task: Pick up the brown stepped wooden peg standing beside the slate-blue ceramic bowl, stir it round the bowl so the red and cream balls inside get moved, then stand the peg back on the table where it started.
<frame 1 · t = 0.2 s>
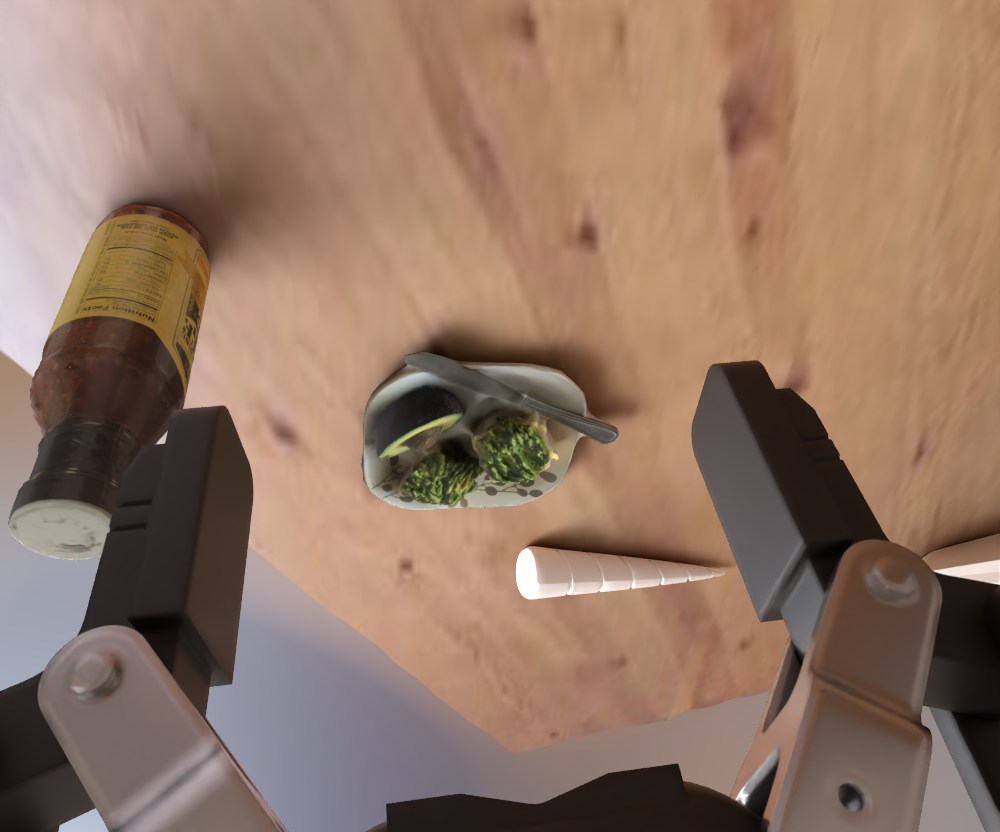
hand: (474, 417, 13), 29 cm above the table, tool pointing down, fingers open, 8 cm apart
white faceted piece: (960, 558, 85), on the table
salad plate: (465, 424, 57), on the table
unicorn horn: (620, 555, 75), on the table
sauce bottle: (157, 241, 42), on the table
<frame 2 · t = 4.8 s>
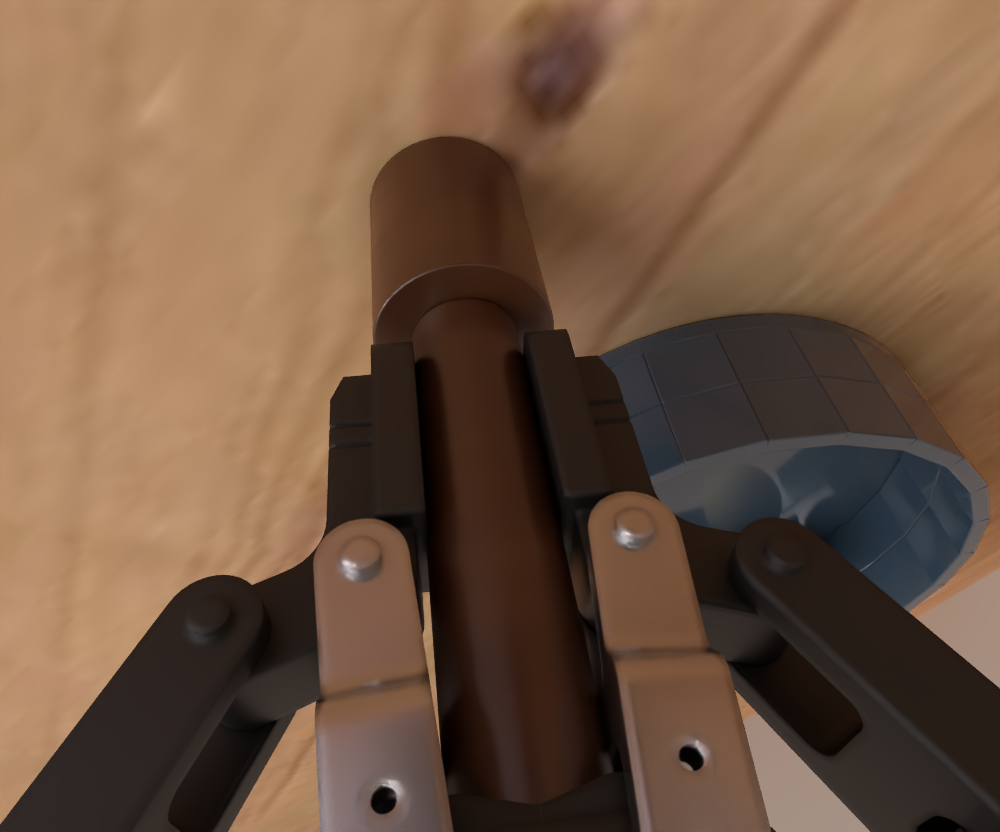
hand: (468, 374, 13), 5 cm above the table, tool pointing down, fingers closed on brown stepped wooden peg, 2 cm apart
brown stepped wooden peg: (445, 207, 17), on the table, touching gripper
bowl: (689, 481, 26), on the table
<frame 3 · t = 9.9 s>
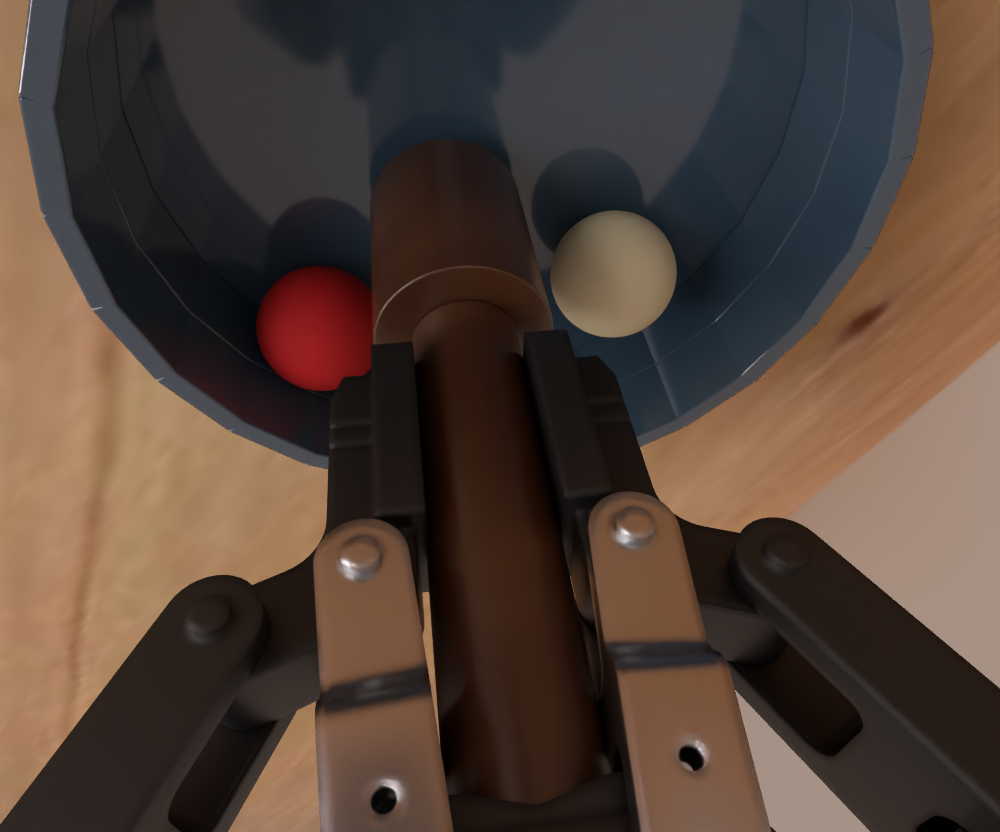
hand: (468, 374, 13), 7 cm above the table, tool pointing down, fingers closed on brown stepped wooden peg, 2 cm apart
cream ball: (612, 274, 18), point 2 cm above the table, touching bowl
brown stepped wooden peg: (445, 208, 17), point 1 cm above the table, touching gripper
bowl: (474, 119, 17), on the table
red ball: (321, 328, 18), point 2 cm above the table, tilted 52°, touching bowl
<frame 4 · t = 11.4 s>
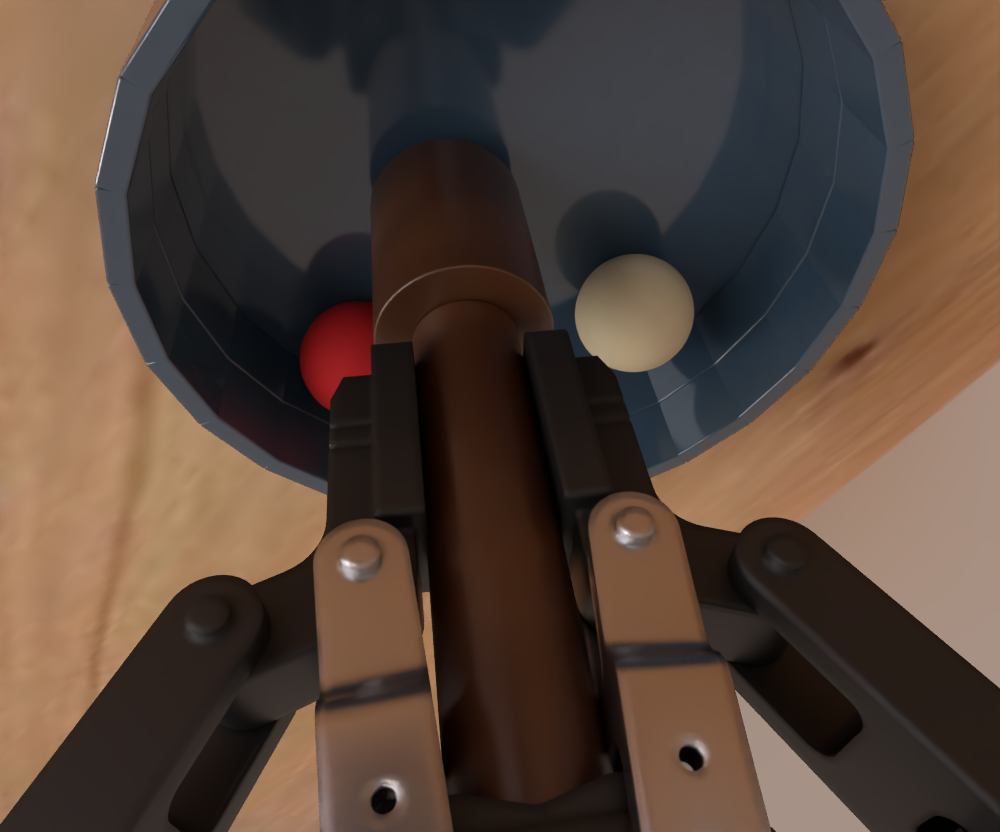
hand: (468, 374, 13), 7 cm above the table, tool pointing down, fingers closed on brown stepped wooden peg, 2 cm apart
cream ball: (633, 313, 19), point 2 cm above the table, tilted 14°, touching bowl
brown stepped wooden peg: (445, 208, 17), point 1 cm above the table, touching gripper
bowl: (493, 180, 18), on the table
red ball: (360, 360, 19), point 2 cm above the table, tilted 33°, touching bowl
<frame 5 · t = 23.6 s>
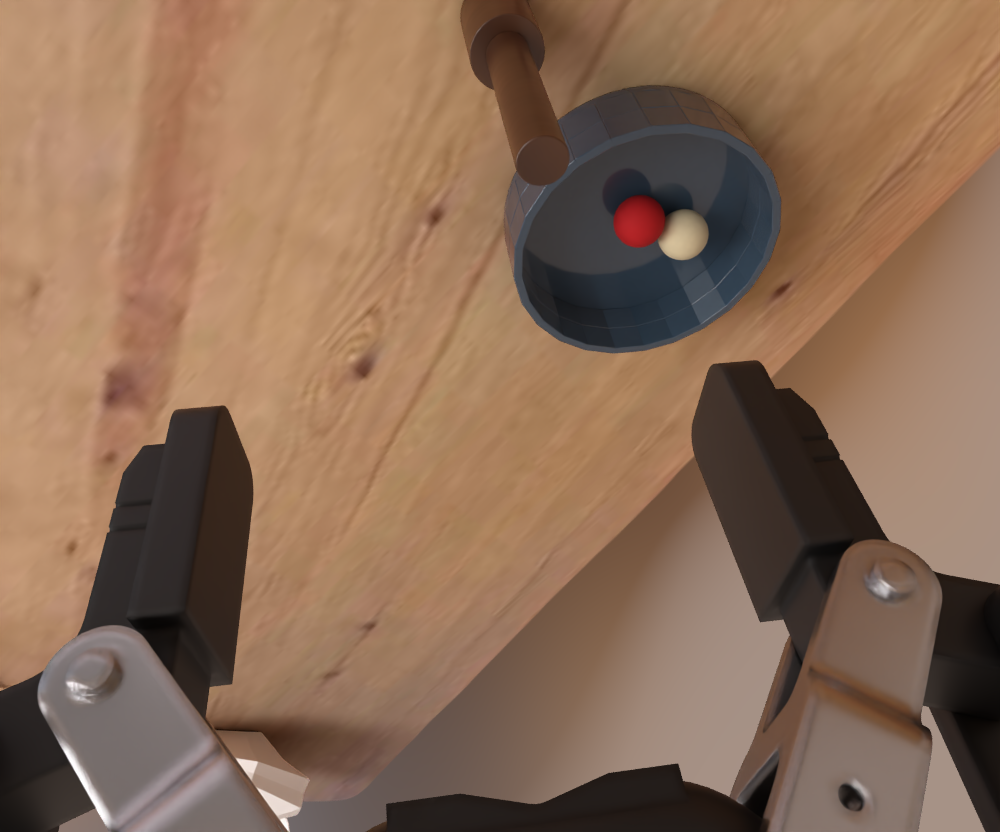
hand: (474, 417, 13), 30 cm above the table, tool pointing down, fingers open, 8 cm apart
white faceted piece: (228, 741, 100), on the table
cream ball: (682, 234, 45), point 2 cm above the table, tilted 87°, touching bowl
brown stepped wooden peg: (495, 16, 36), on the table
bowl: (627, 210, 46), on the table
red ball: (639, 221, 44), point 2 cm above the table, tilted 156°, touching bowl
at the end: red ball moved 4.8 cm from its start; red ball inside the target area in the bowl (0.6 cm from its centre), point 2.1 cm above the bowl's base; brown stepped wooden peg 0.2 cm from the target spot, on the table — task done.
